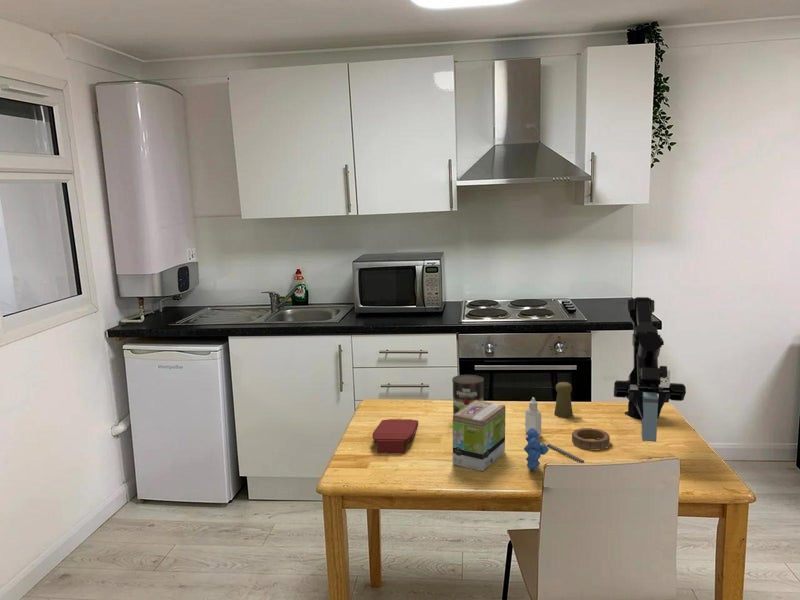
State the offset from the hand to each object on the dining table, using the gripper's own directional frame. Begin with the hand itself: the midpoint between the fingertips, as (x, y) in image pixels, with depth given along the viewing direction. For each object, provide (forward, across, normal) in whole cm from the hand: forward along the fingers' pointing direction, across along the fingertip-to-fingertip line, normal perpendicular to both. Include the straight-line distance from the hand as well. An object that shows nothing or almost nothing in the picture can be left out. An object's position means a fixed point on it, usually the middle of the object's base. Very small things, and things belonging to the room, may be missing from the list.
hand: (650, 418), depth 172 cm
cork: (-13, -24, +29) cm, 40 cm away
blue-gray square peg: (+4, 0, +6) cm, 7 cm away
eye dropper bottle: (+1, -32, +15) cm, 36 cm away
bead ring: (+3, -16, +13) cm, 21 cm away
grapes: (+19, -30, -2) cm, 35 cm away
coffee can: (-5, -54, +22) cm, 59 cm away
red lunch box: (+9, -74, +9) cm, 75 cm away
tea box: (+16, -46, +1) cm, 49 cm away
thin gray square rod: (+10, -23, +6) cm, 25 cm away
